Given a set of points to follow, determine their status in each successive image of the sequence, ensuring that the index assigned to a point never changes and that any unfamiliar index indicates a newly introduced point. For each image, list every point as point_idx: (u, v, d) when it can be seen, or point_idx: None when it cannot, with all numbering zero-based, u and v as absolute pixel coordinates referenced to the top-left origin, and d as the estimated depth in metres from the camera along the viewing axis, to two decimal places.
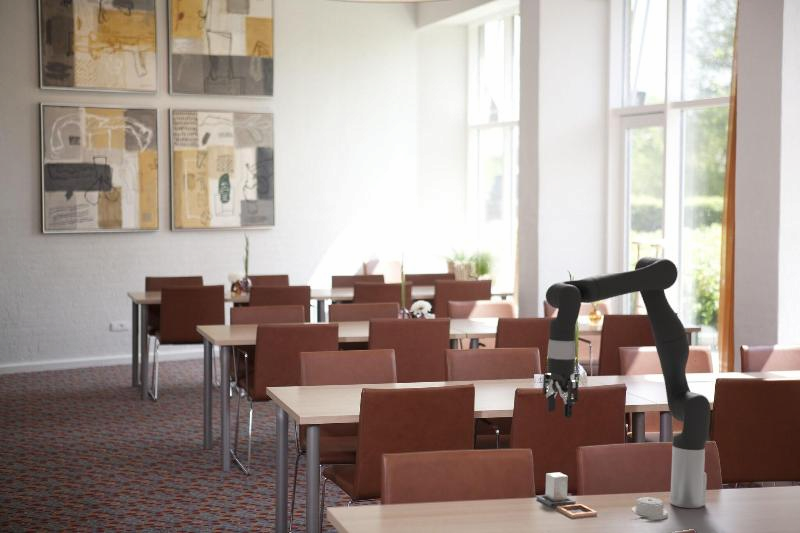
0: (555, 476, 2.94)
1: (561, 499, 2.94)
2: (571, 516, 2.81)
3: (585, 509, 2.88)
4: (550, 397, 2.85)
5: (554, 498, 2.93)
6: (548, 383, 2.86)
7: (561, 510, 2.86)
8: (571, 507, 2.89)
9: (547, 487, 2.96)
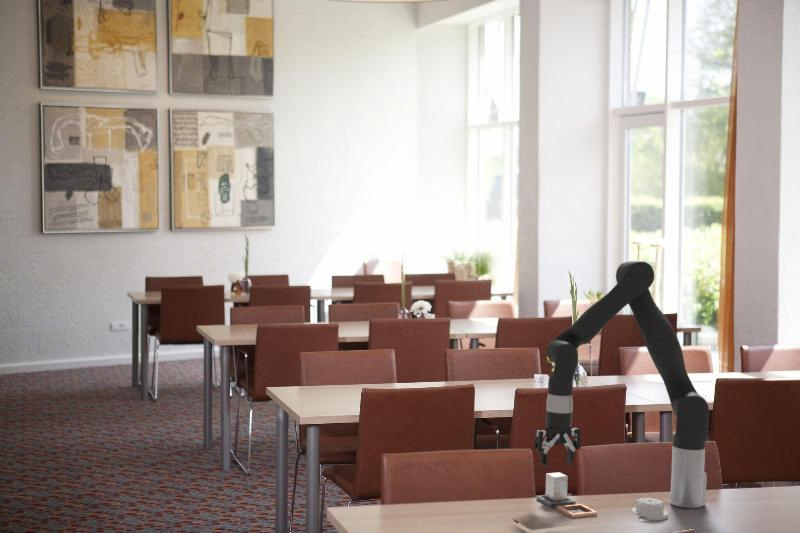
0: (555, 476, 2.94)
1: (561, 499, 2.94)
2: (571, 516, 2.81)
3: (585, 509, 2.88)
4: None
5: (554, 498, 2.93)
6: None
7: (561, 510, 2.86)
8: (571, 507, 2.89)
9: (547, 487, 2.96)
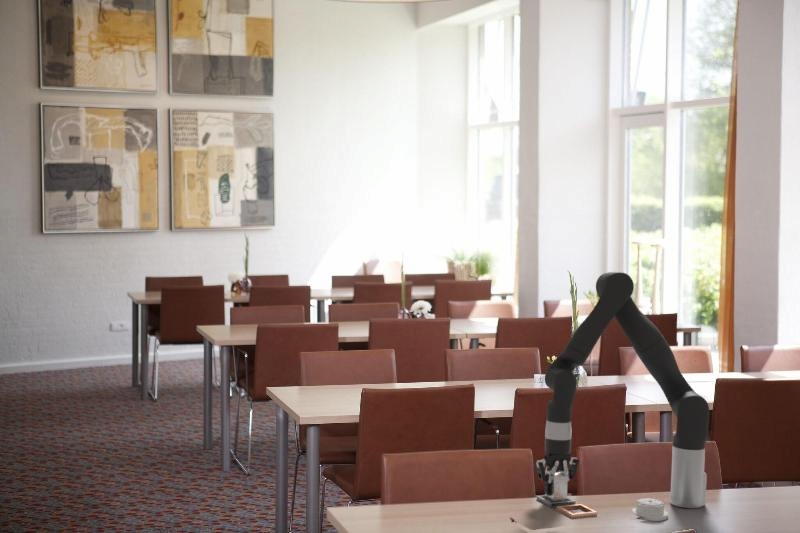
0: (555, 476, 2.94)
1: (561, 499, 2.94)
2: (571, 516, 2.81)
3: (585, 509, 2.88)
4: None
5: (554, 498, 2.93)
6: None
7: (561, 510, 2.86)
8: (571, 507, 2.89)
9: None
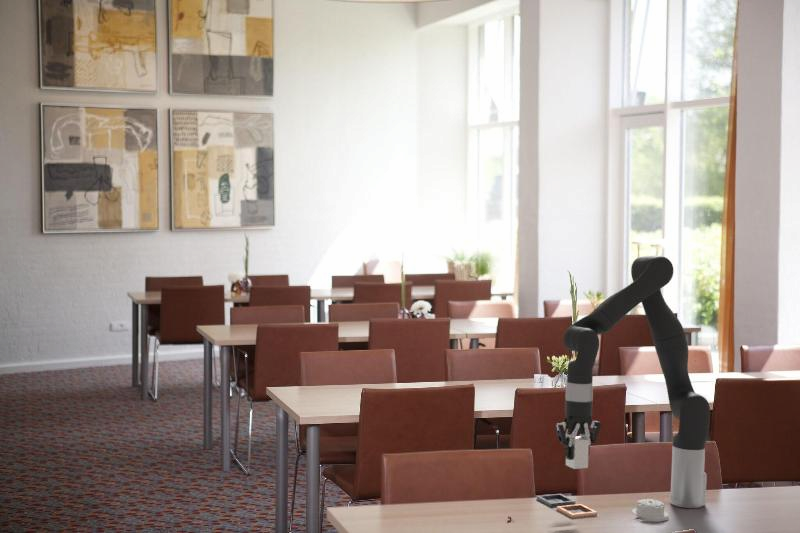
0: (576, 439, 2.84)
1: (582, 463, 2.84)
2: (571, 516, 2.81)
3: (585, 509, 2.88)
4: None
5: (574, 462, 2.83)
6: None
7: (561, 510, 2.86)
8: (571, 507, 2.89)
9: None
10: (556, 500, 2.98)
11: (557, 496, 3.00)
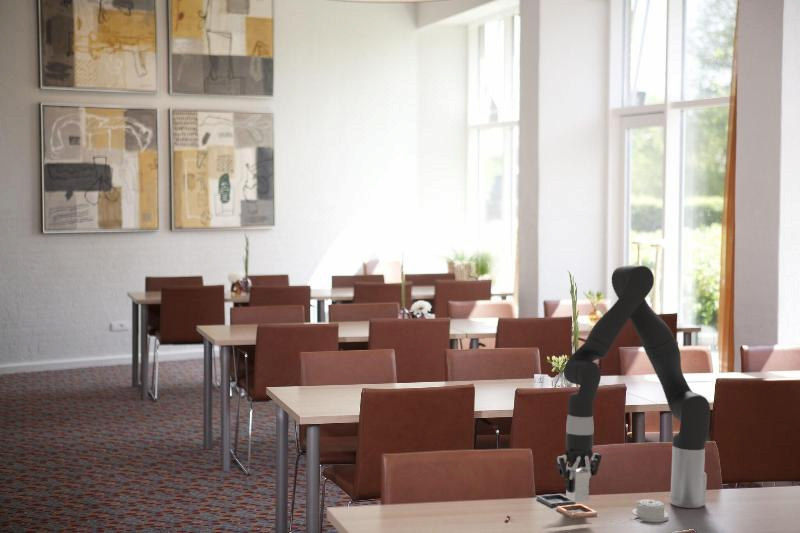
0: (576, 472, 2.84)
1: (582, 496, 2.84)
2: (571, 516, 2.81)
3: (585, 509, 2.88)
4: None
5: (575, 495, 2.83)
6: None
7: (561, 510, 2.86)
8: (571, 507, 2.89)
9: None
10: (556, 500, 2.98)
11: (557, 496, 3.00)
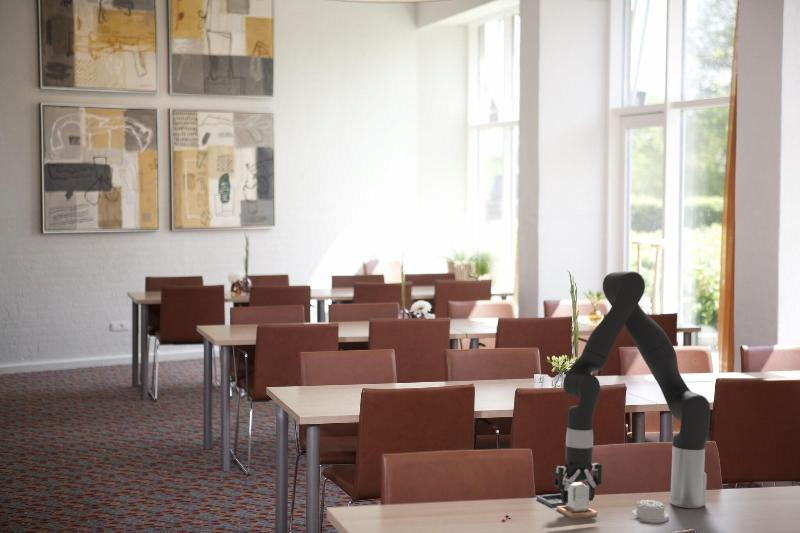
0: (576, 486, 2.84)
1: (582, 509, 2.84)
2: (571, 516, 2.81)
3: None
4: None
5: (575, 509, 2.83)
6: None
7: (561, 510, 2.86)
8: None
9: (568, 497, 2.86)
10: (556, 500, 2.98)
11: (557, 496, 3.00)
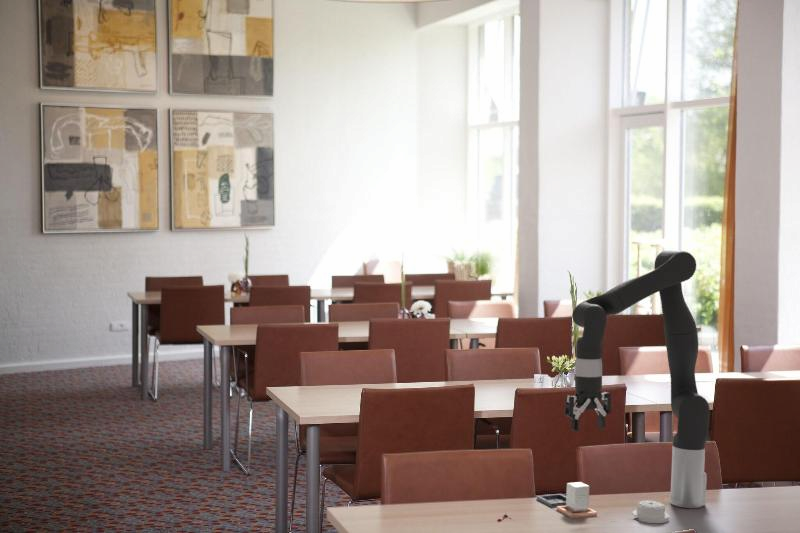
0: (576, 486, 2.84)
1: (582, 509, 2.84)
2: (571, 516, 2.81)
3: None
4: None
5: (575, 509, 2.83)
6: None
7: (561, 510, 2.86)
8: None
9: (568, 497, 2.86)
10: (556, 500, 2.98)
11: (557, 496, 3.00)
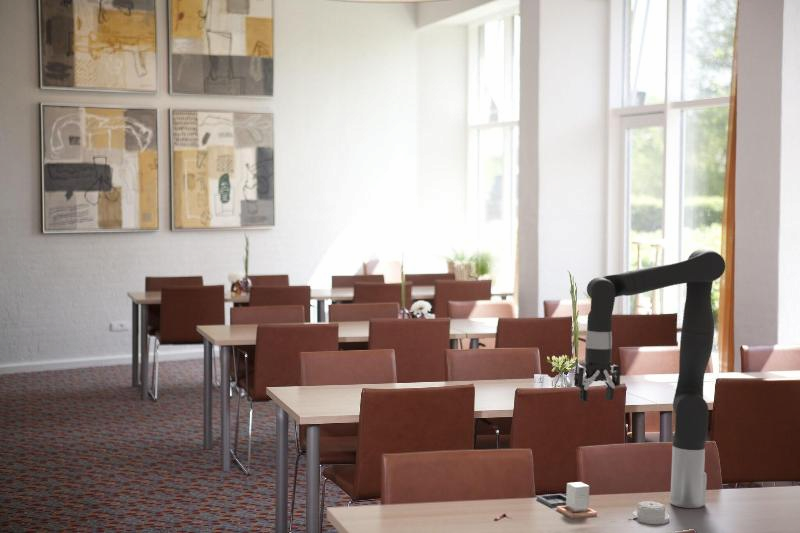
0: (576, 486, 2.84)
1: (582, 509, 2.84)
2: (571, 516, 2.81)
3: None
4: None
5: (575, 509, 2.83)
6: None
7: (561, 510, 2.86)
8: None
9: (568, 497, 2.86)
10: (556, 500, 2.98)
11: (557, 496, 3.00)
